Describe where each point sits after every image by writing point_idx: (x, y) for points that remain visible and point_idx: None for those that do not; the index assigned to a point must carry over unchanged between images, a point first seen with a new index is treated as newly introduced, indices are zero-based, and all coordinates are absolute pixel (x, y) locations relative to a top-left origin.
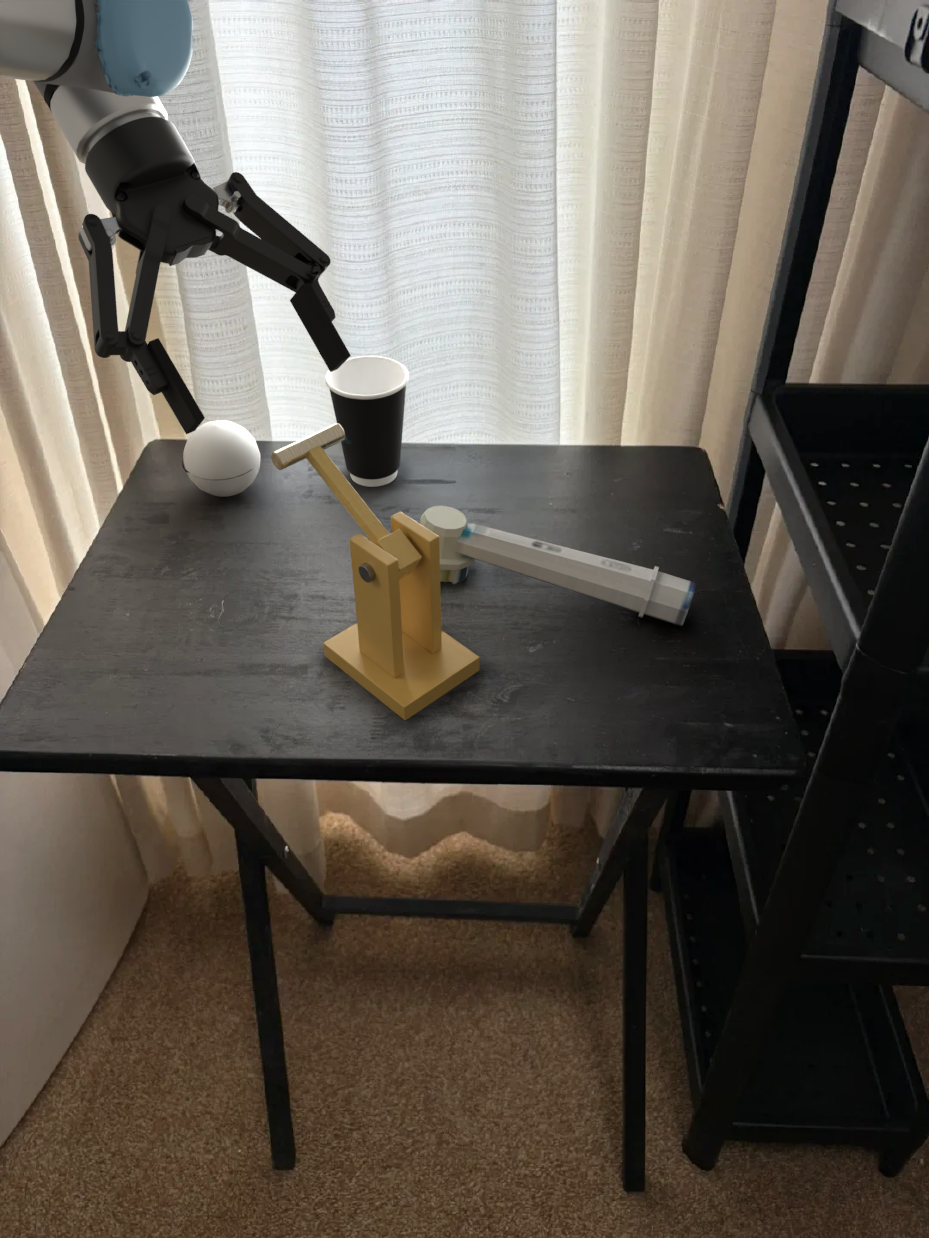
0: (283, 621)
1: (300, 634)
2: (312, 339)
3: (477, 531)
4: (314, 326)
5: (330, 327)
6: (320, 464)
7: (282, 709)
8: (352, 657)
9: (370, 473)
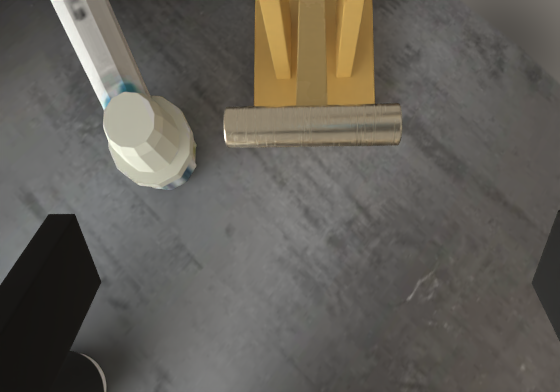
0: (372, 209)
1: (370, 175)
2: (61, 363)
3: (116, 78)
4: (34, 353)
5: (15, 284)
6: (325, 75)
7: (461, 88)
8: (364, 73)
9: (88, 365)
